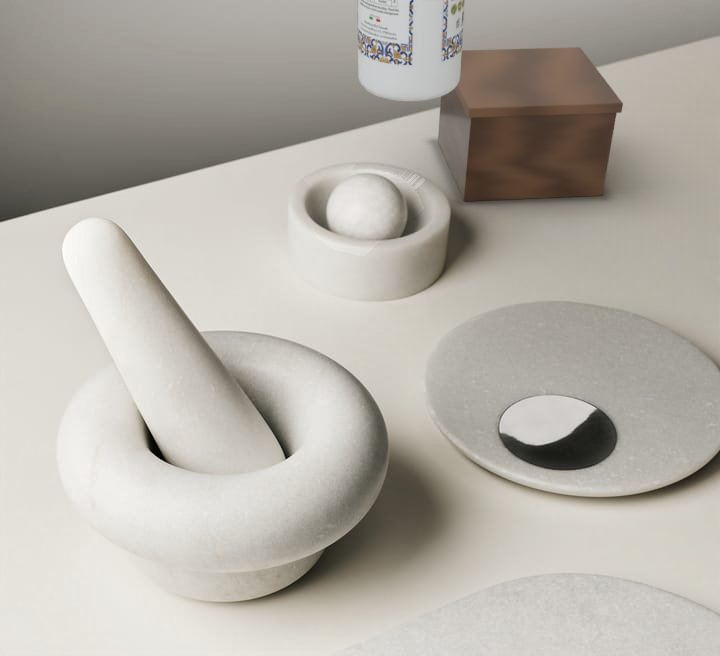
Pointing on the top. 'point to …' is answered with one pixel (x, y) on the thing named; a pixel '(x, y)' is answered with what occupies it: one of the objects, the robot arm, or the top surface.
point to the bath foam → (410, 47)
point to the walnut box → (528, 124)
